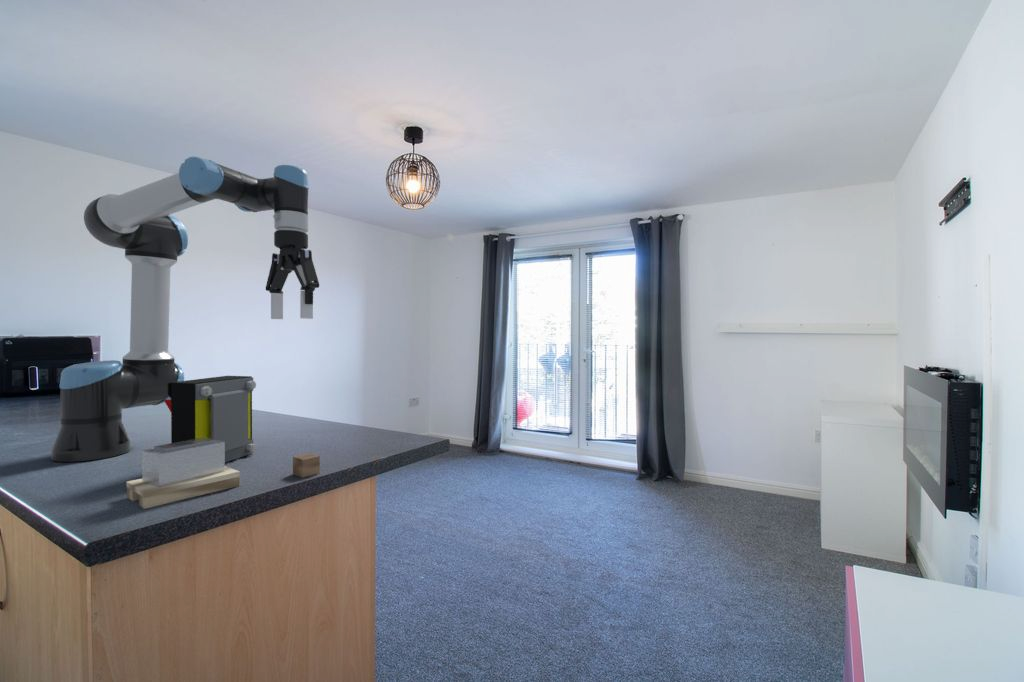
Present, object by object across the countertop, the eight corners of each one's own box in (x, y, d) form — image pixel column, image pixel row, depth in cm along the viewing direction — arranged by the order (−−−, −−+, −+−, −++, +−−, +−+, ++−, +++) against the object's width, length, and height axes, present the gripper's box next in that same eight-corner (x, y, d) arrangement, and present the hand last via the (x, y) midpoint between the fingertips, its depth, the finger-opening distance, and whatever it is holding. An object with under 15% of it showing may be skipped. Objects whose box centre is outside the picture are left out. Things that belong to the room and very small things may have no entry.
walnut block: (292, 474, 106) (292, 456, 106) (309, 470, 110) (309, 453, 110) (302, 478, 104) (302, 459, 104) (319, 473, 107) (319, 455, 107)
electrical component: (202, 473, 106) (202, 383, 106) (164, 470, 108) (163, 382, 108) (259, 453, 124) (259, 376, 123) (225, 451, 126) (225, 375, 125)
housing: (207, 466, 101) (207, 435, 101) (224, 470, 98) (224, 438, 98) (142, 482, 90) (141, 447, 90) (159, 487, 88) (158, 451, 87)
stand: (126, 497, 91) (126, 481, 91) (218, 477, 104) (218, 463, 104) (145, 509, 85) (145, 492, 85) (239, 486, 98) (239, 471, 98)
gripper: (250, 235, 121) (250, 318, 122) (304, 222, 107) (304, 317, 107) (279, 239, 127) (279, 319, 128) (334, 228, 113) (334, 318, 113)
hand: (291, 319), depth 117 cm, fingers open, 13 cm apart
